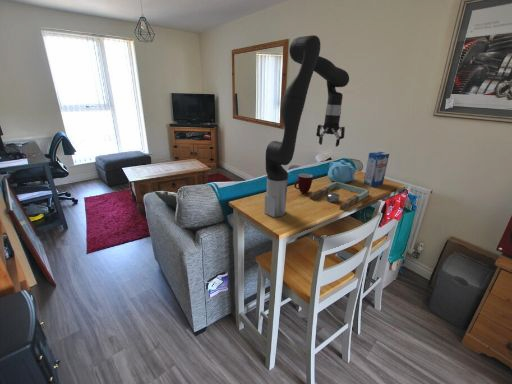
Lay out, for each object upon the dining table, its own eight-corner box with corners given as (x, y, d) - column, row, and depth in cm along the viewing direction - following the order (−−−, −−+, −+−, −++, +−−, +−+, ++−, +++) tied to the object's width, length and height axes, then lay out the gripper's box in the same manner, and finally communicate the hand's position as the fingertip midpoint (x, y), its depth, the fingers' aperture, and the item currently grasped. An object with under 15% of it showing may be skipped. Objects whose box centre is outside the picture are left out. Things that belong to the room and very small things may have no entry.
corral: (358, 201, 134) (359, 196, 133) (324, 191, 147) (324, 186, 146) (368, 195, 143) (369, 190, 142) (335, 186, 156) (335, 181, 155)
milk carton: (374, 182, 165) (380, 151, 157) (382, 185, 160) (389, 153, 152) (363, 183, 161) (369, 152, 154) (371, 187, 156) (377, 155, 148)
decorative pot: (327, 176, 175) (329, 156, 170) (351, 178, 171) (354, 158, 166) (327, 183, 160) (329, 162, 155) (354, 186, 157) (357, 164, 152)
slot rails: (343, 210, 124) (344, 204, 122) (310, 199, 136) (310, 194, 135) (357, 201, 134) (358, 196, 133) (325, 191, 146) (325, 186, 145)
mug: (299, 196, 139) (301, 179, 135) (290, 191, 145) (291, 175, 142) (313, 193, 144) (315, 176, 140) (304, 188, 150) (306, 172, 147)
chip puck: (335, 204, 130) (336, 198, 129) (324, 200, 134) (325, 194, 133) (340, 201, 134) (341, 195, 133) (330, 197, 138) (331, 192, 137)
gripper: (317, 113, 131) (313, 144, 137) (345, 115, 125) (340, 148, 130) (321, 113, 137) (317, 143, 143) (348, 114, 131) (343, 146, 137)
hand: (328, 145), depth 137 cm, fingers open, 8 cm apart
